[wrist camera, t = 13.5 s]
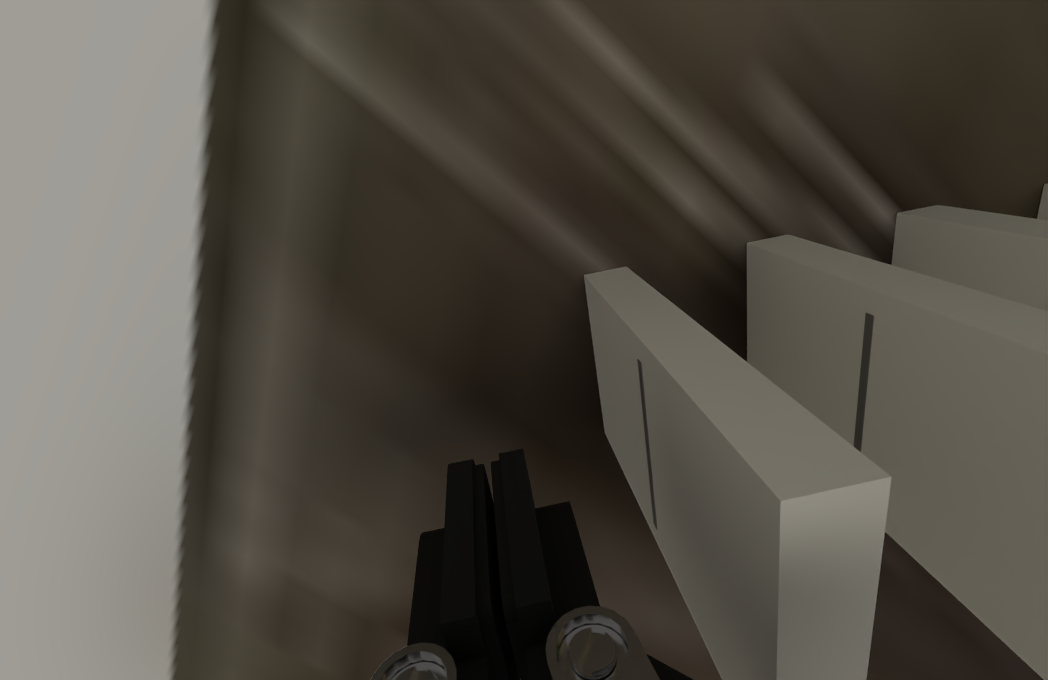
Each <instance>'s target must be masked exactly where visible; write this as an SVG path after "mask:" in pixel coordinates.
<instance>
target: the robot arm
mask: <svg viewBox="0 0 1048 680" xmlns="http://www.w3.org/2000/svg"><path fill="white" fill-rule="evenodd" d="M499 459H500V460H499V461H494V462H491V473H492V485H493V498H494V503H493V499H492V495H491V491H490V487H489V483H488V479H487V474H486V470H485V467H484V464H480V465H475V463H474V460H473V459H471V460H466V461H462V462H457V463H452V464H449V465H448V472H447V490H446V509H445V528H442V529H437V530H433V531H428V532H423V533H422V534H421V535H420V540H419V548H418V556H417V565H416V574H415V583H414V591H413V600H412V609H411V618H410V627H409V635H408V644H407V646H406V647H404V648H402V649H400V650H398V651H396V652H395V653H393V654H392V655H391V656H390V657H389V658H387V659H386V660H385V661H384V662H383V663H382V664H381V665H380V667H379V668H378V669H377V670H376V672H375V673H374V674H373V676H372V678H371V680H520V679H521V680H693V679H691V678H689V677H687V676H686V675H684V674H682V673H680V672H678V671H676V670H675V669H673V668H671V667H669V666H667V665H666V664H664V663H662V662H660V661H658V660H656V659H655V658H653V657H651V656H649V655H647V654H646V652H645V651H644V649H643V647H642V645H641V643H640V641H639V639H638V637H637V635H636V633H635V632H634V630H633V628H632V627H631V626H630V624H629V623H628V622H627V620H626V619H625V618H623V617H622V616H621V615H619V614H618V613H617V612H615V611H613V610H610V609H607V608H604V607H601V606H600V605H599V601H598V598H597V594H596V591H595V588H594V584H593V581H592V577H591V574H590V570H589V567H588V563H587V560H586V556H585V553H584V549H583V546H582V542H581V539H580V535H579V532H578V528H577V525H576V521H575V518H574V515H573V511H572V508H571V505H570V502H564V503H559V504H555V505H550V506H545V507H540V508H536V509H535V505H534V500H533V495H532V490H531V485H530V480H529V476H528V471H527V466H526V461H525V456H524V451H523V449H519V450H514V451H509V452H505V453H500V454H499ZM519 675H520V676H519Z"/></svg>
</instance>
